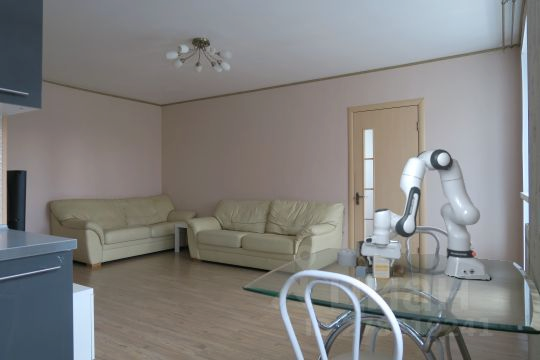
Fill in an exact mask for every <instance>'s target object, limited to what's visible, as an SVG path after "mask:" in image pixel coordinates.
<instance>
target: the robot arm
mask: <svg viewBox="0 0 540 360" xmlns="http://www.w3.org/2000/svg"><path fill="white" fill-rule="evenodd" d="M428 171H437V172H438V174H439V178H440V183H441V188H442V192H443V195H444V197H445V198H446V199H447V200H448V202H447V203H444V204H442V206H441V208H440V216H441V217H442V219H443V220H444V224H445V227H446V232H447V247H446V251H445V252H446V265H445V268H444V271H443V274H444V275H446V276H448V275H449V277H451V276H456V277H459V276H471V275H486V274H487V273H488V272H487V268H486V266H485V264H484V263H482V262H481V261H480V260H479V259H477V258H476V256H477V253H476V252H475V251H474V250H472V249H471V234H470V233H469V231H468V230H467V226H473V225H475V224H477V223H478V222H479V220H480V219H481V212H480V210H479V208H477V207H476V206H475V205H474V203H473V202H472V200H471V198H470V196H469V194H468V192H467V188H466V183H465V180H464V176H463V172H462V169H461V166H460V164H459V161H458V160H457V159H456V158H453V157H452V156H451V154H450V153H449V151H447V150H445V149H442V148H439V149H429V150H424V151H421V152H420V153H419V154H417V156H413V157H410V158H409V159H408V160H407V162H406V163H405V165H404V168H403V170H402V173H401V175H400V178H399V179H400V180H399V188H400V190H401V192H402V193H404V195H405V199H406V202H405V207H404V209H403V210H404V211H403V215H399V214H397V213H395V212H393V211H392V210H390V209H389V208H379V209H376V210H375V211H374V212H373V217H372V228H373V231H372V235H368V236H366V237H364V238H363V241H364V243H363V245H362V249H361V254H362V255H363V256H367V258H368V260H369V264H370V265H372V261H371V260H370V256H373V254H377V255H380V256H381V257H383V258H389V259H391V262H389V268H390V267H391V268H393V265H394V262H395V260H400V259H401V258H402V251H401V250H402V248H403V243H402V242H401V241H399V240H391V233H394V234H397V235H399V237H400V236H401V237H402V238H410V237H412V236H413V235H414V234H415V233H416V230H417V216H418V210H419V206H420V201H421V195H422V193H421V192H422V191H421V190H422V189H421V188H422V184H423V181H424V178H425V174H426V173H427V172H428Z"/></svg>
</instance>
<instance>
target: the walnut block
mask: <svg viewBox="0 0 540 360" xmlns="http://www.w3.org/2000/svg"><path fill="white" fill-rule="evenodd" d="M392 268H393V269H392V271H393V272H392V273H393V275H392V276H393V277H394V276H395V277H401V278H403V277H404V273H405V267H404V265H403V264H402V265H401V264H393V265H392Z"/></svg>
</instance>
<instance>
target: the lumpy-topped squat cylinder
mask: <svg viewBox="0 0 540 360" xmlns="http://www.w3.org/2000/svg"><path fill="white" fill-rule="evenodd" d="M337 265H338V266H343V267H356V249H350V248H346V249H341V250H339V251H337Z"/></svg>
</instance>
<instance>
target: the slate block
mask: <svg viewBox="0 0 540 360" xmlns="http://www.w3.org/2000/svg"><path fill="white" fill-rule="evenodd" d="M366 276H367V277H368V272H367V267H363V266H357V267H356V266H355V278H358V277H362V278H361V279H367V277H366Z"/></svg>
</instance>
